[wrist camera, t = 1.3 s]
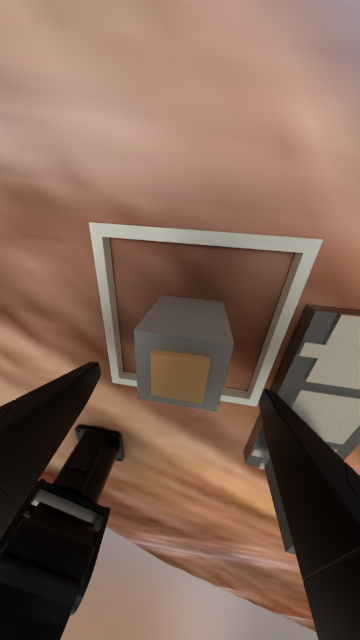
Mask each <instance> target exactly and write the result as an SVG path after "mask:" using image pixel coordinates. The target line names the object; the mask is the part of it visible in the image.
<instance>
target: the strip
mask: <svg viewBox="0 0 360 640" xmlns="http://www.w3.org/2000/svg"><path fill="white" fill-rule="evenodd" d="M271 389H272V390H274V391H275V392H276V393H277V394H278V395H279V396H280V397H281V398H282V399H283V400H284V401H285V402H286V403H287V404H288V405H289V406H290V407H291V408H292V409H293V410H294V411H295V412H296V413H297V414H298V415H299V416H300V417H301V418H302V419H303V420H304V421H305V422H306V423H307V424H308V425H309V426H310V427H311V428H312V429H313V430H314V431H315V432H316V433H317V434H318V435H319V436H320V437H321V438H322V439H323V440H324V441H325V442H326V443H327V444H328V445H329V446H330V447H331V448H332V449H333V450H334V451H335V452H336V453H337V454H338V455H339V456H340V457H341V458H342V459H343V460H345V459H346V458H347V456H348V455H349V454H350V453H351V452H352V451H353V450H354V449H355V448H356V447H357V446H358V445H359V444H360V310H351V309H342V308H333V307H323V306H314V305H306V307H305V310H304V312H303V314H302V317H301V319H300V321H299V324H298V326H297V328H296V331H295V333H294V335H293V338H292V340H291V342H290V345H289V347H288V349H287V352H286V354H285V356H284V359H283V361H282V364H281V366H280V368H279V371H278V373H277V375H276V378H275V380H274V382H273V385H272V387H271ZM243 453H244V459H245V464H249V465H254V466H258V467H259V469H264V470H265V468H264V467H265V465H266V463H267V461H268V460H269V458H270V455H269V452H268V448H267V444H266V440H265V436H264V431H263V425H262V419H261V413H260V415H259V417H258V420H257V422H256V424H255V427H254V429H253V431H252V434H251V436H250V438H249V441H248V443H247V445H246V448H245V450H244V452H243Z"/></svg>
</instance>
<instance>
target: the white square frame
mask: <svg viewBox="0 0 360 640" xmlns="http://www.w3.org/2000/svg"><path fill="white" fill-rule="evenodd" d="M89 226H90V233H91V240H92V247H93V254H94V260H95V267H96V274H97V281H98V288H99V294H100V301H101V308H102V315H103V322H104V328H105V335H106V342H107V349H108V356H109V362H110V369H111V376H112V383H118V384H124V385H130V386H136V387H137V377H136V373H131V372H125V371H123V363H122V353H121V344H120V334H119V324H118V315H117V305H116V296H115V286H114V276H113V267H112V257H111V248H110V238H109V237H112V238H125V239H137V240H149V241H162V242H174V243H186V244H199V245H211V246H223V247H236V248H248V249H260V250H273V251H285V252H296V253H295V255H294V258H293V261H292V264H291V267H290V270H289V273H288V276H287V279H286V281H285V284H284V287H283V290H282V293H281V296H280V299H279V302H278V305H277V307H276V310H275V313H274V316H273V319H272V322H271V325H270V328H269V331H268V333H267V336H266V339H265V342H264V345H263V348H262V351H261V354H260V357H259V359H258V362H257V365H256V368H255V371H254V374H253V377H252V380H251V383H250V385H249V388H248V391H244V390H238V389H232V388H225V387H223V390H222V394H221V398H220V401H226V402H232V403H238V404H244V405H250V406H257V404H258V401H259V399H260V396H261V394H262V391H263V389H264V386H265V384H266V381H267V379H268V376H269V374H270V371H271V369H272V366H273V364H274V361H275V359H276V356H277V354H278V351H279V349H280V346H281V344H282V341H283V339H284V336H285V334H286V331H287V329H288V326H289V324H290V321H291V319H292V316H293V314H294V311H295V309H296V306H297V304H298V301H299V299H300V296H301V294H302V291H303V289H304V286H305V284H306V281H307V279H308V276H309V274H310V271H311V269H312V266H313V264H314V261H315V259H316V256H317V254H318V251H319V249H320V246H321V244H322V241H323V239H309V238H296V237H282V236H268V235H255V234H241V233H227V232H214V231H200V230H186V229H173V228H159V227H145V226H132V225H118V224H104V223H91V222H89Z"/></svg>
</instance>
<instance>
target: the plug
mask: <svg viewBox="0 0 360 640" xmlns="http://www.w3.org/2000/svg"><path fill="white" fill-rule="evenodd" d="M134 345H135V361H136V377H137V393H138V398H140V399H146V400H152V401H157V402H163V403H169V404H174V405H180V406H186V407H192V408H197V409H203V410H209V411H215V412H217V410H218V406H219V402H220V398H221V394H222V390H223V386H224V382H225V378H226V374H227V370H228V366H229V362H230V358H231V354H232V350H233V346H234V341H233V337H232V333H231V329H230V325H229V321H228V318H227V314H226V310H225V306H224V302H222V301H213V300H204V299H195V298H186V297H177V296H168V295H161V296H160V297H159V299H158V300H157V301H156V302H155V304H154V305H153V306H152V308H151V309H150V310H149V311H148V313H147V314H146V315H145V316H144V318H143V319H142V320H141V321H140V323H139V324H138V325H137V326H136V328H135V329H134Z"/></svg>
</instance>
